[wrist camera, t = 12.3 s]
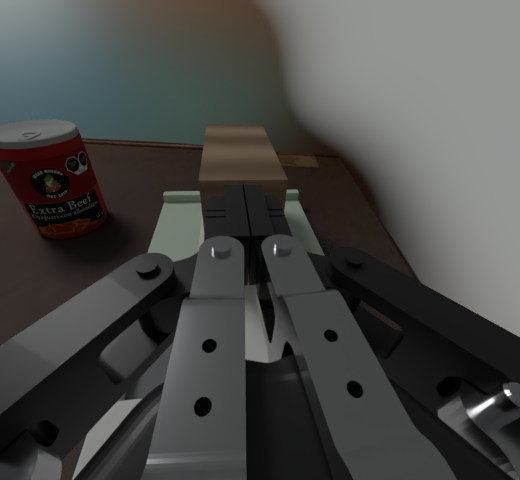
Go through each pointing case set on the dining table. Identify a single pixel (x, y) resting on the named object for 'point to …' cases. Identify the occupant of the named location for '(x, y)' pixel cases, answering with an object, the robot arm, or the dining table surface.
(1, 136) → the canned food
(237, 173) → the walnut block
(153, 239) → the trap lane
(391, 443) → the robot arm
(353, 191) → the dining table surface
